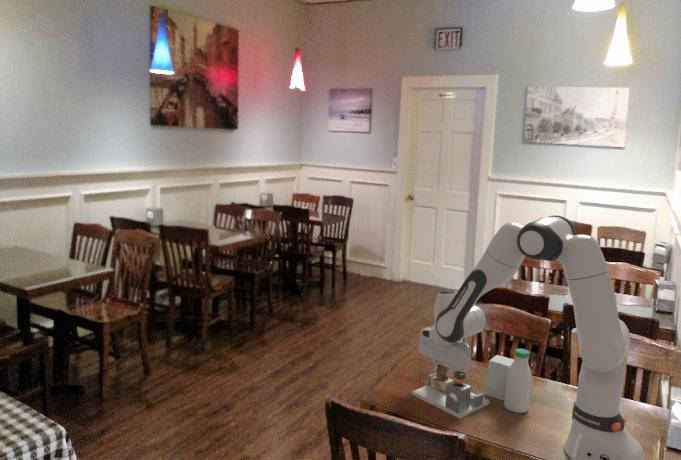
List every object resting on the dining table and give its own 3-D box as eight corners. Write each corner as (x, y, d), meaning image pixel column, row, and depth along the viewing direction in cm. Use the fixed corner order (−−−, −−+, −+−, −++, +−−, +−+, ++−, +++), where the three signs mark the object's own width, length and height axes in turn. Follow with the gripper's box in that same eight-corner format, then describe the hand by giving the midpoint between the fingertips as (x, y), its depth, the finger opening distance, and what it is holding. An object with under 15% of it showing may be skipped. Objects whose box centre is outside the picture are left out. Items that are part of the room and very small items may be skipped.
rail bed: (489, 404, 186) (490, 390, 185) (460, 418, 175) (461, 404, 174) (441, 382, 200) (442, 369, 200) (412, 394, 190) (413, 381, 189)
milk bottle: (529, 415, 179) (536, 356, 176) (504, 411, 181) (511, 353, 177) (526, 404, 187) (533, 347, 183) (503, 400, 188) (508, 345, 185)
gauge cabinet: (468, 412, 180) (471, 386, 178) (458, 417, 176) (460, 391, 174) (455, 405, 184) (457, 380, 182) (444, 410, 180) (446, 384, 178)
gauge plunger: (466, 397, 179) (468, 374, 177) (459, 400, 176) (461, 377, 175) (456, 393, 181) (459, 370, 180) (450, 396, 179) (452, 373, 178)
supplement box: (505, 401, 188) (509, 366, 186) (484, 394, 192) (488, 360, 190) (513, 394, 194) (517, 359, 192) (493, 387, 198) (496, 354, 196)
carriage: (452, 388, 192) (454, 366, 191) (443, 392, 189) (445, 370, 188) (439, 382, 197) (440, 360, 195) (430, 386, 193) (431, 364, 192)
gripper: (476, 343, 184) (473, 382, 186) (428, 325, 199) (425, 361, 201) (465, 347, 180) (461, 387, 182) (416, 328, 195) (414, 366, 197)
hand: (442, 373), depth 192 cm, fingers closed on carriage, 3 cm apart
